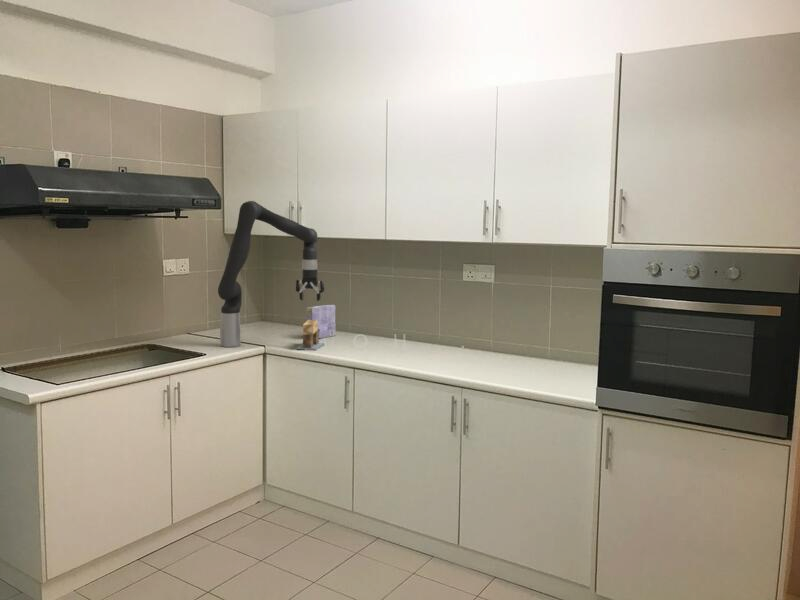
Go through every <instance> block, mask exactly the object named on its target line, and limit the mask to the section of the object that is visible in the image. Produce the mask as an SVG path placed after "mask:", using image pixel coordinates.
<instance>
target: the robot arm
mask: <svg viewBox="0 0 800 600" xmlns="http://www.w3.org/2000/svg"><path fill="white" fill-rule="evenodd" d="M256 221H261V222H262V223H263V222H264V223H266V224H267V225H270V226H272V227H273V228H275V229H277V230H278V231H280V232H282V233H285V234H287V235H290V236H293V237H295V238H296V239H299V240H300V241H303V249H302V264H301V265H302V274H301V275H302V279H296V280H295V291H296V292H298V293H299V299H300V301H303V300H304V292H305V290H306V289H311V290H312V289H314V291H315V292H316V301H317V302H319V301H320V300H321V295H322V293H324V292H325V281H324V280H323V279H322V280H321V279H320V280H319V279H318V278H319V277H318V250H317V247H318V232H317V231H316V230H315V229H314V228H311V227H307V226H304V225H301V224H300V223H298V222H296V221H295V220H293V219H290V218H287V217H285V216H282V215H280V214H278V213H275V212H273V211H271V210H269V209H267V208H265V207H264V206H262V205H261V204H259V203H258V202H256V201H255V200H248V201H244V202H243V203H242V204H241V205H240V207H239V213H238V218H237V224H236V229H235V232H234V235H233V237H232V242H231V244H230V247H229V248H230V249H229V252H228V255H227V260H226V264H225V267H224V271H223V273H222V277H221V279H220V281H219V284H218V288H217V294H218V296H219V298H220V299H221V300H224V303H223V305H222V306H221V308H220V309H221V310H220V311H221V313H220V315H221V317H220V318H221V327H220V328H219V329H220V330H219V335H220V336H219V337H220V340H219V341H220V342H219V343H220V347H224V348H237V347H240V346H241V344H242V340H241V308H242V297H243V296H242V287H241V284H240V283H239V282H238V281H237V279H238V276H239V273H240V272H241V270H242V269H243V267H244V265H245V264H246V262H247V260H248V257H249V254H250V251H251V250H250V249H251V241H252V237H251V236H252V230H253V227H254V223H255V222H256ZM301 284H302V286H301ZM318 284H319V287H320V288H319V287H318Z"/></svg>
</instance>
